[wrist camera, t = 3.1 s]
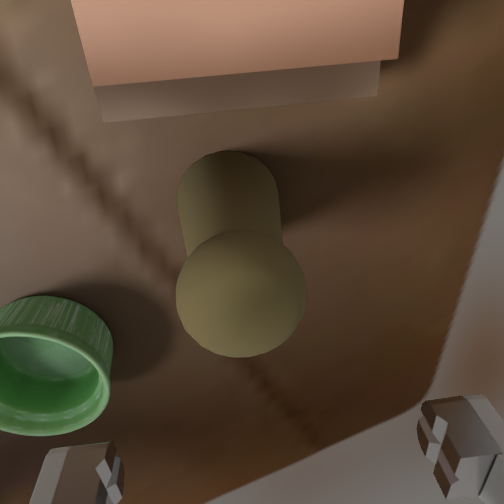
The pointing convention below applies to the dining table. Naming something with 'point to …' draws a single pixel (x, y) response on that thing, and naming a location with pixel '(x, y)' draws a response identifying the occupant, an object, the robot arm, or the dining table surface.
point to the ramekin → (52, 366)
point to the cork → (236, 258)
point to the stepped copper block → (232, 53)
